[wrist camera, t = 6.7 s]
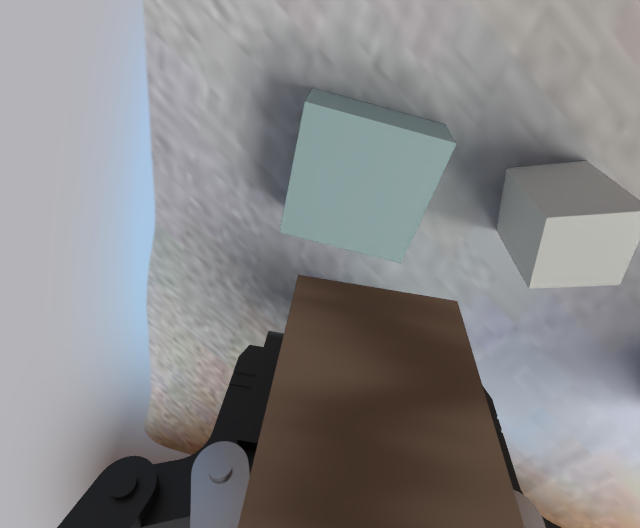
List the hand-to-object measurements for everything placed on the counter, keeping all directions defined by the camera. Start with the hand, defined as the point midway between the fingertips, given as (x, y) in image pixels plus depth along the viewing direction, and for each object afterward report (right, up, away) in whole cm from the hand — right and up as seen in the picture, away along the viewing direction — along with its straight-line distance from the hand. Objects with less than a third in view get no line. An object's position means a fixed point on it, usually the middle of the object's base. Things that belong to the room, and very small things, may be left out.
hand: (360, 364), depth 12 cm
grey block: (+14, +8, +14) cm, 22 cm away
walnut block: (0, +1, +1) cm, 1 cm away
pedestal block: (+2, +10, +14) cm, 18 cm away
